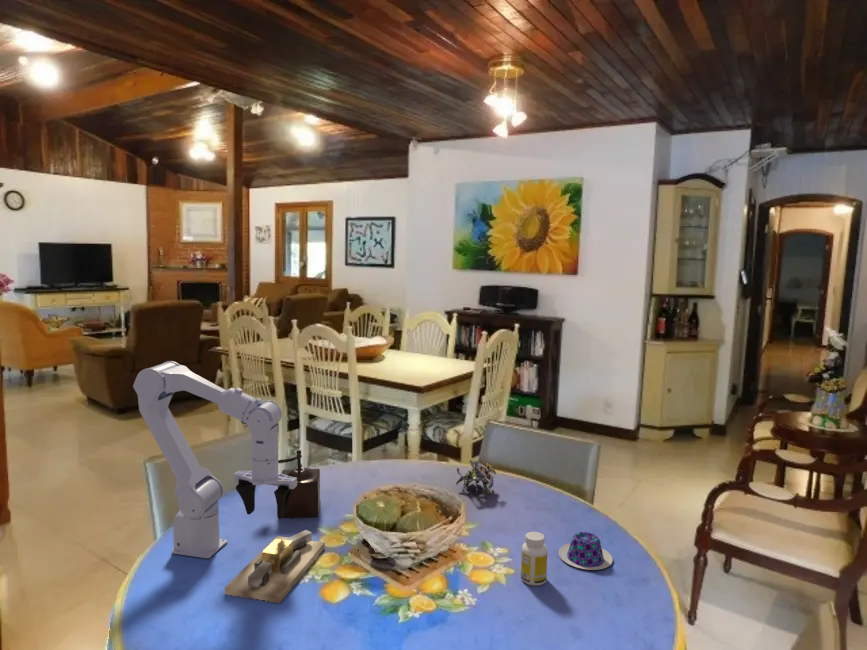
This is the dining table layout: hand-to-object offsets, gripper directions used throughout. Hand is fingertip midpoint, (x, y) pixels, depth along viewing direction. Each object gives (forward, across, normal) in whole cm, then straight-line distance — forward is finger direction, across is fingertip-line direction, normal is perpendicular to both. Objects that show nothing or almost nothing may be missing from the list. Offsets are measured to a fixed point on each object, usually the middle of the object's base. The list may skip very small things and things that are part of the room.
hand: (265, 514), depth 133 cm
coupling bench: (+9, +6, -6) cm, 12 cm away
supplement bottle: (+9, +60, +5) cm, 61 cm away
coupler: (+8, +6, -6) cm, 11 cm away
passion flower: (+9, +40, +47) cm, 62 cm away
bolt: (+10, +22, +11) cm, 27 cm away
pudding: (+9, +71, +18) cm, 73 cm away
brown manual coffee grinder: (+10, -6, +22) cm, 25 cm away
